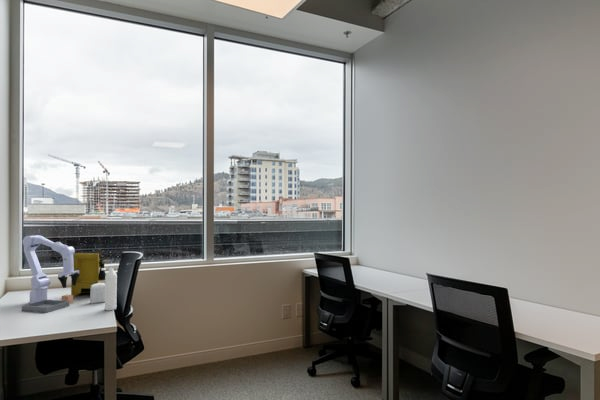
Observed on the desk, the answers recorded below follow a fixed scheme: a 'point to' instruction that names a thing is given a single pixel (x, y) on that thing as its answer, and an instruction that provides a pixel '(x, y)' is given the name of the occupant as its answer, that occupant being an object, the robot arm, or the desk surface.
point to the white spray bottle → (110, 289)
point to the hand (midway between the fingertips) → (69, 286)
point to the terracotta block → (67, 298)
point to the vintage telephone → (87, 272)
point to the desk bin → (45, 306)
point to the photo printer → (97, 293)
